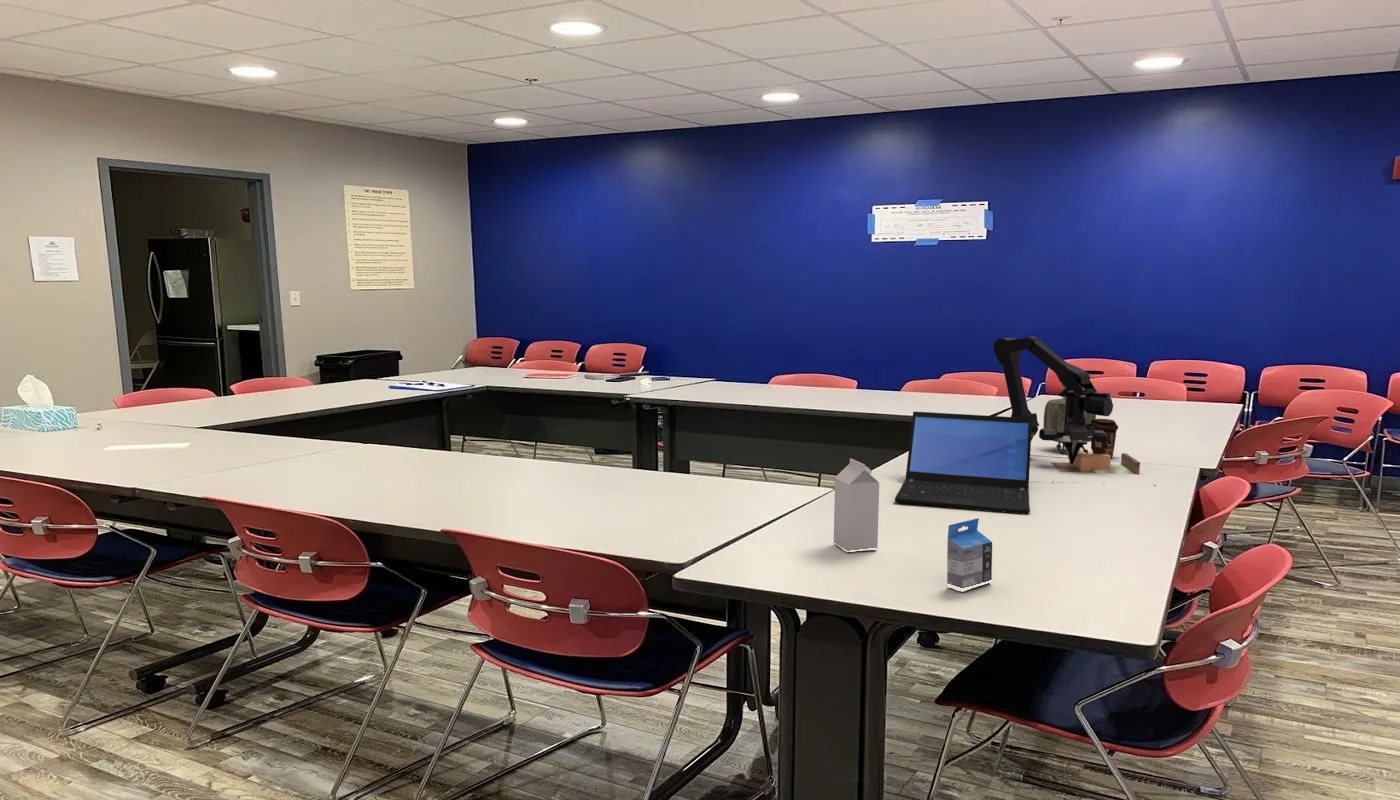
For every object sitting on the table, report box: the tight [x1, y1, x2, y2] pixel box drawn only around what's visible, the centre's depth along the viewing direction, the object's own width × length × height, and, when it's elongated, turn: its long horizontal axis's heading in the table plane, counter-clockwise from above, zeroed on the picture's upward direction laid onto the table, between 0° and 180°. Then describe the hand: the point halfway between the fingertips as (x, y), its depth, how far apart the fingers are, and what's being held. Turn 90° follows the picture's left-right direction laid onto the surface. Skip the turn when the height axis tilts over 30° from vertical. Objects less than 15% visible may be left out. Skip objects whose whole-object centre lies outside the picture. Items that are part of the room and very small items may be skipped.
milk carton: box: [833, 458, 880, 551], centre depth 203 cm, size 7×7×19 cm
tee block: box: [1074, 451, 1112, 471], centre depth 283 cm, size 9×9×4 cm
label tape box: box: [946, 517, 993, 588], centre depth 179 cm, size 9×4×12 cm, turn 126°
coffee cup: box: [1090, 418, 1119, 460], centre depth 300 cm, size 9×8×13 cm
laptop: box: [894, 411, 1032, 514], centre depth 254 cm, size 33×38×19 cm
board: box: [1050, 452, 1141, 475], centre depth 283 cm, size 22×14×4 cm, turn 82°
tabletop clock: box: [1043, 383, 1097, 454], centre depth 312 cm, size 14×9×25 cm, turn 30°
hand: (1071, 463), depth 284 cm, fingers closed
